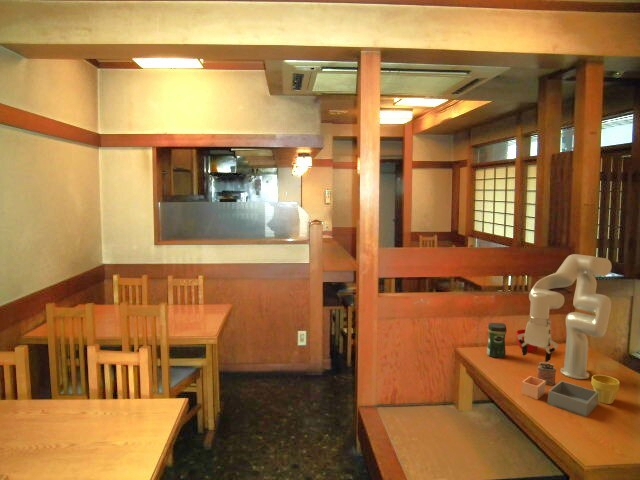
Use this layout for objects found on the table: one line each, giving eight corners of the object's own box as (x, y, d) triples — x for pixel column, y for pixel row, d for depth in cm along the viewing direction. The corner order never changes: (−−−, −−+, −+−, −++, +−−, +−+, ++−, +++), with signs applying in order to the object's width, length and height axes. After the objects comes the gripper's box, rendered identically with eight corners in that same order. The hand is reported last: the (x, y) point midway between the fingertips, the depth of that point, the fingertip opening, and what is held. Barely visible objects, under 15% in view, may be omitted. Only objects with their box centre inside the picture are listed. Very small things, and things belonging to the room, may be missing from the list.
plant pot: (591, 392, 201) (593, 372, 199) (619, 399, 194) (621, 378, 193) (588, 401, 193) (590, 380, 192) (616, 408, 186) (618, 387, 185)
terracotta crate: (529, 388, 205) (530, 375, 204) (545, 393, 200) (546, 380, 199) (521, 394, 199) (521, 381, 198) (537, 399, 194) (538, 386, 193)
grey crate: (560, 392, 200) (561, 380, 199) (597, 405, 189) (598, 392, 188) (547, 403, 190) (548, 390, 189) (586, 417, 179) (587, 403, 178)
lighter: (554, 382, 211) (555, 362, 209) (555, 385, 207) (557, 365, 206) (535, 380, 213) (537, 360, 212) (536, 383, 210) (538, 363, 209)
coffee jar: (503, 353, 247) (504, 321, 245) (506, 358, 239) (508, 325, 237) (485, 352, 248) (486, 320, 246) (488, 357, 241) (490, 325, 238)
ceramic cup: (551, 354, 245) (553, 337, 244) (521, 354, 246) (522, 337, 244) (540, 346, 258) (541, 329, 257) (511, 345, 258) (512, 329, 257)
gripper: (562, 323, 190) (559, 361, 192) (522, 314, 203) (519, 350, 205) (556, 327, 185) (553, 366, 187) (515, 317, 197) (512, 354, 200)
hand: (535, 357), depth 196 cm, fingers open, 9 cm apart
